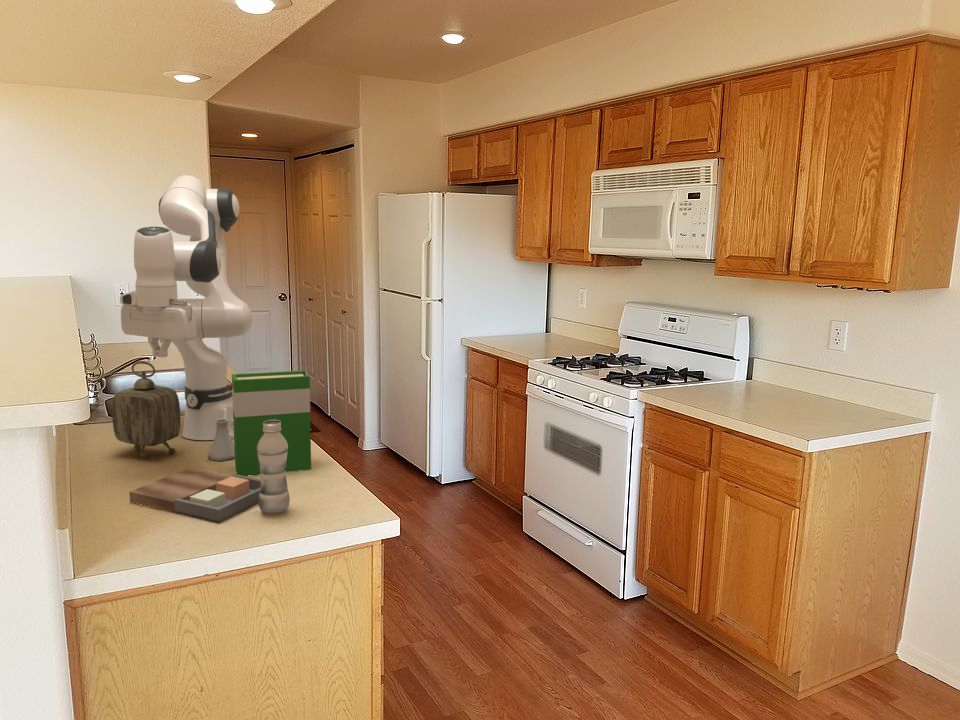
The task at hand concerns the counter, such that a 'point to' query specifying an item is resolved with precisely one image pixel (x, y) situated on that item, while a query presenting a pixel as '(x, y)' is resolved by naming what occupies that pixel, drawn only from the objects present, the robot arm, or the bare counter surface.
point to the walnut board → (176, 488)
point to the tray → (225, 510)
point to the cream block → (209, 498)
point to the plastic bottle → (273, 469)
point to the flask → (222, 443)
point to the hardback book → (271, 417)
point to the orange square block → (233, 487)
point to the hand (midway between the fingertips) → (160, 356)
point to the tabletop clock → (146, 413)
